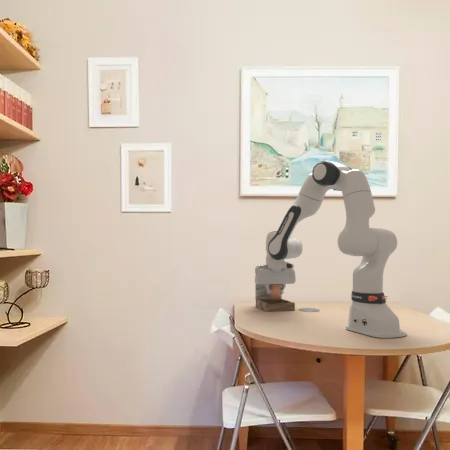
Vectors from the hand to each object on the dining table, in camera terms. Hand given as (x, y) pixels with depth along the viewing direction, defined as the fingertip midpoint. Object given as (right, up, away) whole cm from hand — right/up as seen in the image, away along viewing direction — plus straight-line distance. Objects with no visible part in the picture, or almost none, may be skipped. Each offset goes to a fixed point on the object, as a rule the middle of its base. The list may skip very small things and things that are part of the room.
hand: (275, 293), depth 198 cm
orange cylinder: (0, -2, 0) cm, 2 cm away
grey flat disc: (+16, -8, -3) cm, 18 cm away
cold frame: (0, -8, 0) cm, 8 cm away
